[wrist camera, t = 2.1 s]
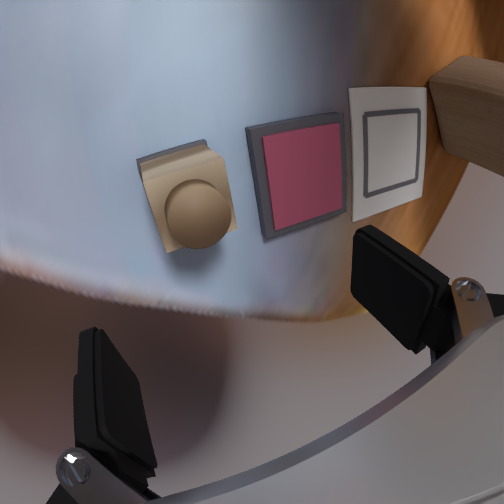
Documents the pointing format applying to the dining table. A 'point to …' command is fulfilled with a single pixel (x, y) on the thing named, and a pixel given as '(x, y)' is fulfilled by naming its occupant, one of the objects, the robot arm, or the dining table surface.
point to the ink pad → (298, 171)
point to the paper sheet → (386, 147)
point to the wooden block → (471, 110)
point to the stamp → (188, 195)
